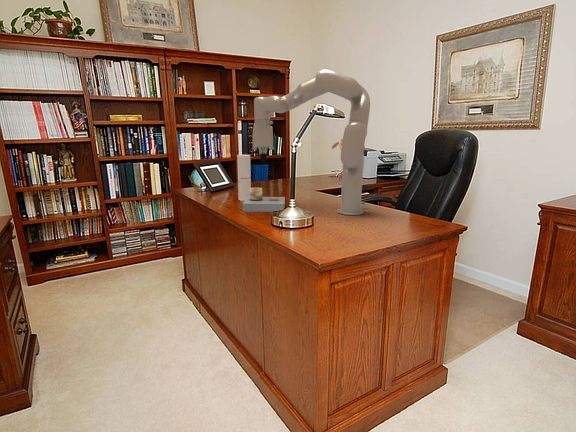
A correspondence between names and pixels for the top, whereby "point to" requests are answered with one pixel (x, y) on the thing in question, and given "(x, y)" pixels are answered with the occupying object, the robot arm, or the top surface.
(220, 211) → the top surface
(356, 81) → the robot arm
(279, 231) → the top surface
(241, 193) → the grey square post
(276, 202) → the mortise board
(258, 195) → the birch peg
